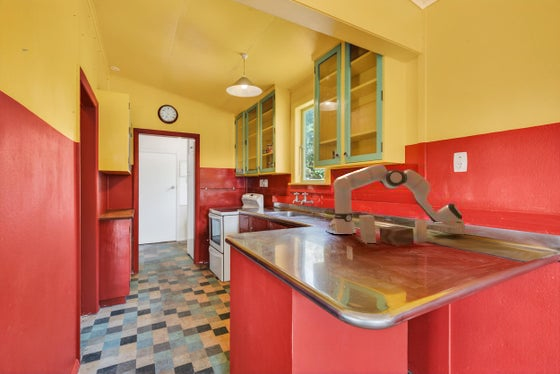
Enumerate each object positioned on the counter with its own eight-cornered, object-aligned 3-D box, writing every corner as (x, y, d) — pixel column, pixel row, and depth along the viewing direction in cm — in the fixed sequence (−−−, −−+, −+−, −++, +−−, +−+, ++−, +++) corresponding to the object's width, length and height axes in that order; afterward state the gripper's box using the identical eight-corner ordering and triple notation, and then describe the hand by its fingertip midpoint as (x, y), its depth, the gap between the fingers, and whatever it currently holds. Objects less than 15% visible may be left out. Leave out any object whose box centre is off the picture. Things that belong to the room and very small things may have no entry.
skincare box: (376, 244, 139) (375, 216, 139) (364, 244, 139) (363, 216, 139) (371, 240, 147) (369, 214, 147) (359, 241, 147) (358, 214, 147)
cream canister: (413, 240, 143) (412, 221, 143) (420, 239, 145) (419, 220, 144) (422, 242, 137) (421, 222, 137) (429, 241, 139) (428, 221, 139)
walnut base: (380, 241, 143) (379, 227, 143) (396, 239, 148) (395, 225, 148) (396, 246, 132) (395, 230, 132) (413, 243, 136) (413, 228, 136)
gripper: (433, 219, 159) (417, 221, 154) (467, 223, 140) (449, 225, 135) (433, 229, 159) (417, 231, 154) (467, 234, 140) (450, 237, 135)
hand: (432, 228), depth 144 cm, fingers open, 8 cm apart
